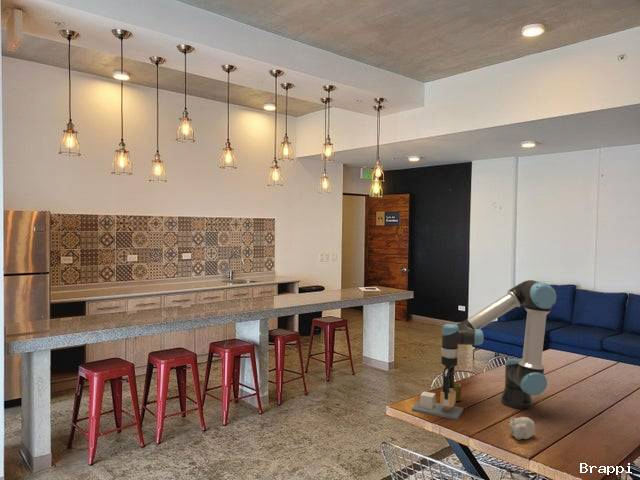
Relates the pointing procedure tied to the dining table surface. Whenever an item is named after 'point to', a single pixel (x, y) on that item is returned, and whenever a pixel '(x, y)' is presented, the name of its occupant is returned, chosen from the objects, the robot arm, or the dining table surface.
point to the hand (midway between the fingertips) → (448, 403)
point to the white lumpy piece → (522, 427)
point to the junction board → (436, 407)
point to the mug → (457, 391)
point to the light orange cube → (452, 398)
